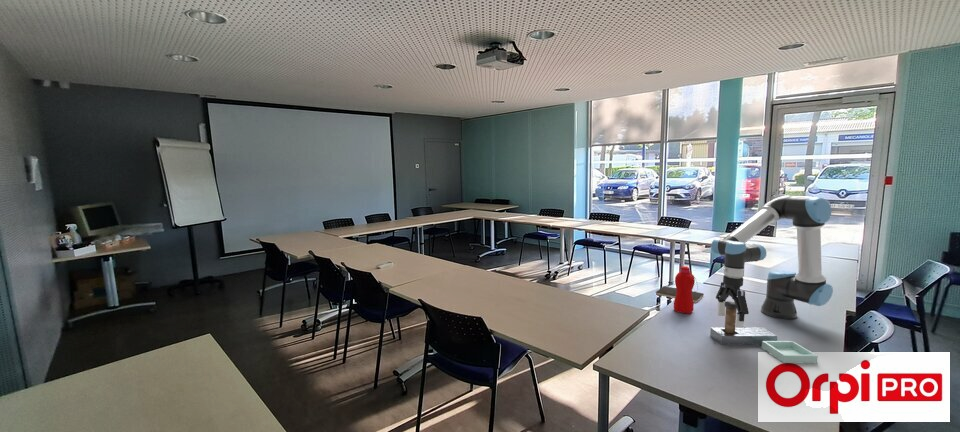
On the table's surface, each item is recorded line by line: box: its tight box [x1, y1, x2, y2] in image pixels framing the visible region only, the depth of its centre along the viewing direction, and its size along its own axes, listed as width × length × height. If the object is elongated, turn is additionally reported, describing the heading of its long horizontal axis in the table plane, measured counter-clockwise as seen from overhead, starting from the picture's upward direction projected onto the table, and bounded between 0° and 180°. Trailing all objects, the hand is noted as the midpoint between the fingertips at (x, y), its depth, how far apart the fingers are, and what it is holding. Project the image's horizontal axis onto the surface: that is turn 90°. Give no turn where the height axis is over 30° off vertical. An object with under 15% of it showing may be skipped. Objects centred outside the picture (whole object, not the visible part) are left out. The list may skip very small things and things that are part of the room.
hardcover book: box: [655, 285, 705, 304], centre depth 235 cm, size 16×23×2 cm
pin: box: [724, 300, 738, 334], centre depth 174 cm, size 5×5×18 cm
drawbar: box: [709, 326, 778, 346], centre depth 174 cm, size 24×9×4 cm, turn 87°
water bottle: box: [673, 265, 699, 315], centre depth 208 cm, size 9×11×25 cm
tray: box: [761, 340, 819, 364], centre depth 160 cm, size 13×13×3 cm
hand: (730, 321), depth 173 cm, fingers open, 13 cm apart
